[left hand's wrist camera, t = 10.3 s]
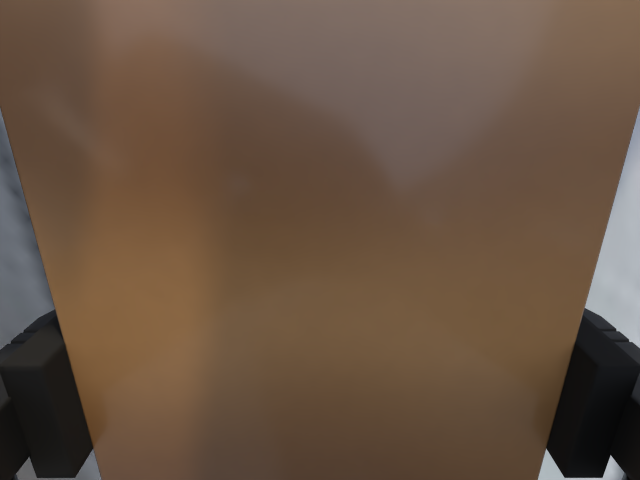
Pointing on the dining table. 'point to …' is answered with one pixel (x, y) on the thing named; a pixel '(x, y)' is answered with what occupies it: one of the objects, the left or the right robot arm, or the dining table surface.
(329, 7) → the wooden beam
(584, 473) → the left robot arm
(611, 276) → the dining table surface
